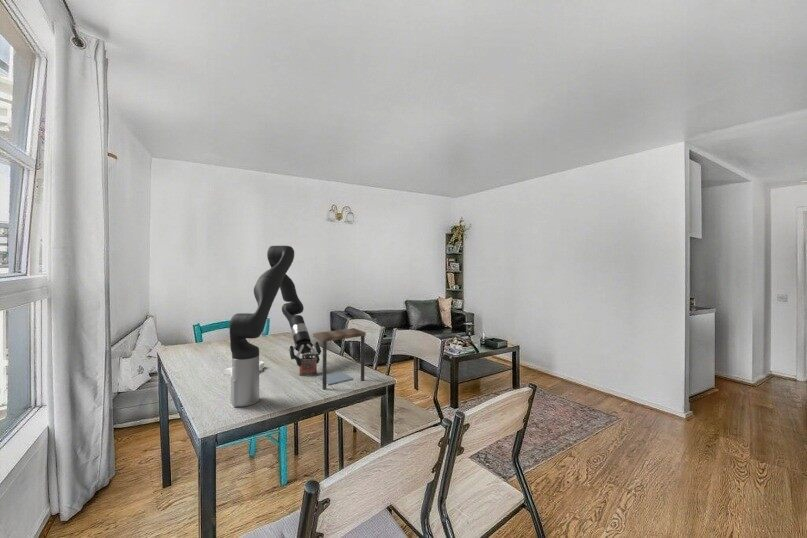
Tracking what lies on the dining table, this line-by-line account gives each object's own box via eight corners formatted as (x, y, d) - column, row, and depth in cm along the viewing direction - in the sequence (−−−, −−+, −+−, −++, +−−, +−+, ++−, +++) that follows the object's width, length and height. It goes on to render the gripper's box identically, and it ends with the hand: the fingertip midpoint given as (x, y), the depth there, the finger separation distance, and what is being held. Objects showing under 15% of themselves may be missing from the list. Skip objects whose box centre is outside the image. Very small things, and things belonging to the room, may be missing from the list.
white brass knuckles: (247, 366, 170) (271, 369, 166) (217, 377, 153) (243, 381, 148) (247, 359, 170) (271, 362, 166) (217, 370, 153) (243, 373, 148)
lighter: (298, 376, 154) (298, 354, 154) (299, 373, 157) (299, 352, 157) (317, 374, 156) (317, 353, 156) (316, 372, 160) (317, 351, 159)
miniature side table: (322, 390, 138) (323, 338, 137) (312, 382, 147) (312, 333, 146) (365, 380, 150) (365, 332, 149) (353, 373, 159) (353, 328, 158)
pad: (328, 385, 144) (328, 384, 144) (317, 377, 153) (317, 376, 153) (353, 379, 151) (353, 378, 151) (341, 372, 160) (341, 371, 160)
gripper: (287, 332, 158) (295, 362, 149) (316, 328, 167) (326, 357, 158) (284, 341, 163) (291, 371, 154) (312, 337, 171) (321, 365, 162)
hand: (309, 364), depth 156 cm, fingers closed on lighter, 8 cm apart
